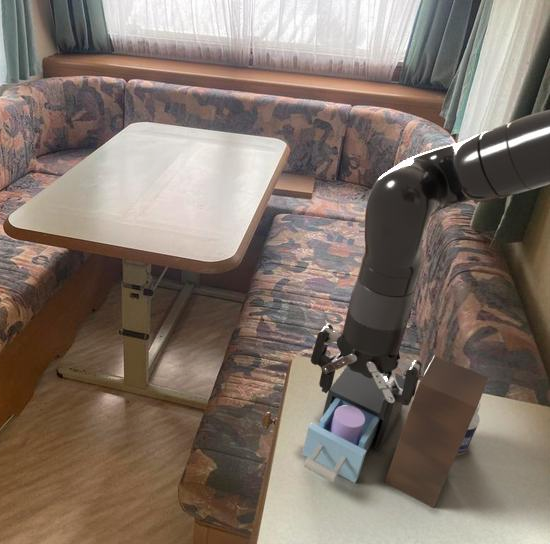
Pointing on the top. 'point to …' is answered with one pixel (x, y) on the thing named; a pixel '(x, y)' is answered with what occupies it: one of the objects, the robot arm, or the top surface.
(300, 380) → the top surface
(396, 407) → the cabinet
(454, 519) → the top surface
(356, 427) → the purple cylinder
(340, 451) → the drawer
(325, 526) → the top surface
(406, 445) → the stand
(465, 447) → the pill bottle
